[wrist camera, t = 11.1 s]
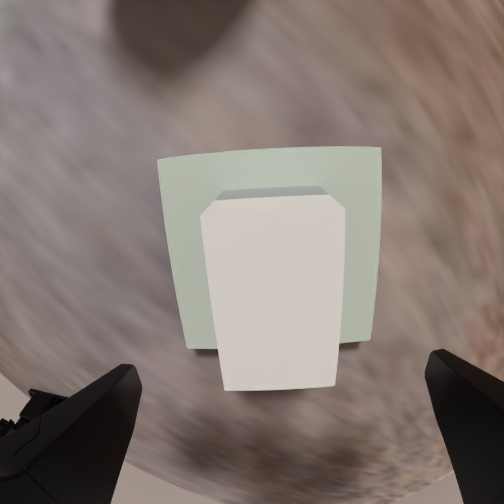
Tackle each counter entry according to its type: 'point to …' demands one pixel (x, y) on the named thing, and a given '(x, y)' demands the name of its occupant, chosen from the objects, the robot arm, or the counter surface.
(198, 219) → the stand
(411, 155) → the counter surface
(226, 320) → the block
